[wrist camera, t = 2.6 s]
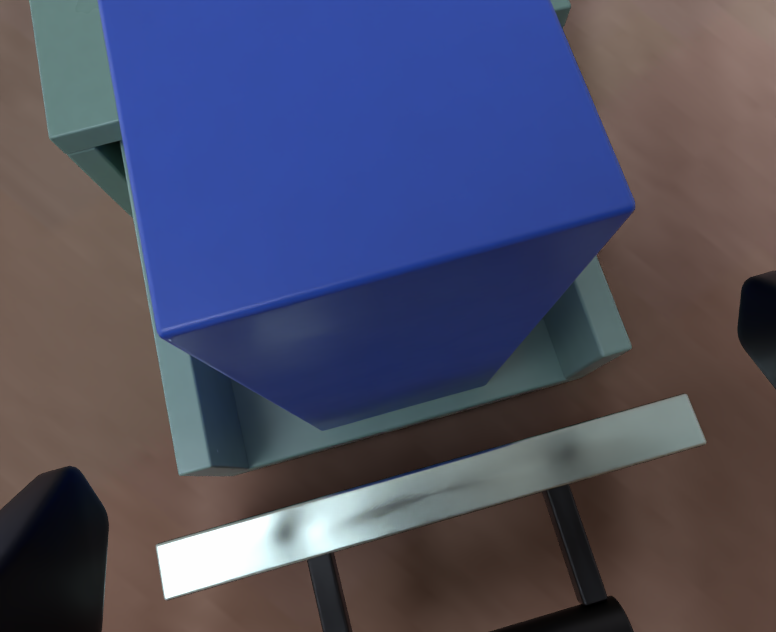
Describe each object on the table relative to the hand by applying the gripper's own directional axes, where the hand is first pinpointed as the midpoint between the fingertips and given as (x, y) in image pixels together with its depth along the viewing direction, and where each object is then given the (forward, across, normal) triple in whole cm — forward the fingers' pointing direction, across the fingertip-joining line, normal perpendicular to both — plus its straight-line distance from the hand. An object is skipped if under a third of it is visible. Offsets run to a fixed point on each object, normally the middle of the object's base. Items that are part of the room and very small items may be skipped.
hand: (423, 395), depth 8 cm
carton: (+10, 0, +4) cm, 11 cm away
